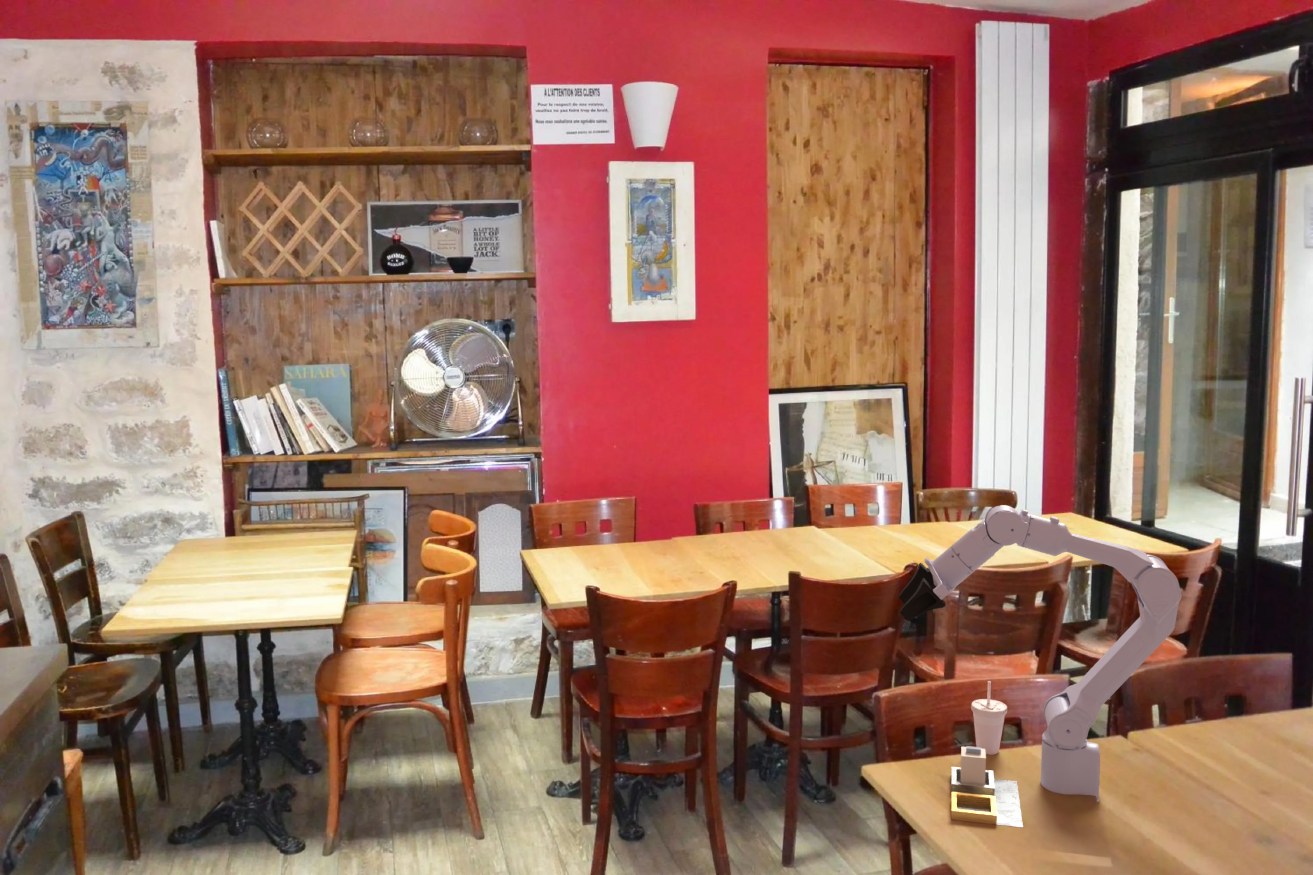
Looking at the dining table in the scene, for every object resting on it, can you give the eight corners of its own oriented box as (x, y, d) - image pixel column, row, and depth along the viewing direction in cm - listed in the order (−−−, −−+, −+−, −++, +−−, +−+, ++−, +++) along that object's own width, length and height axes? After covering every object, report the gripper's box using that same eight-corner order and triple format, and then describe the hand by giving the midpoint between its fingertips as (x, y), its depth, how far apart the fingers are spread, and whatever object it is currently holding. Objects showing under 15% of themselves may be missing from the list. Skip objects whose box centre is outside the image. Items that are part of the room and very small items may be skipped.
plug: (984, 781, 192) (985, 744, 191) (984, 791, 188) (986, 753, 187) (960, 779, 193) (961, 741, 192) (960, 789, 189) (961, 751, 188)
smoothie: (1001, 748, 208) (1004, 676, 206) (1009, 762, 202) (1011, 689, 200) (966, 747, 209) (968, 675, 207) (973, 761, 203) (975, 688, 201)
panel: (1016, 786, 192) (1017, 772, 192) (1022, 833, 176) (1023, 818, 176) (951, 779, 195) (951, 766, 195) (951, 825, 179) (951, 810, 179)
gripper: (943, 530, 197) (886, 578, 200) (949, 554, 183) (887, 605, 186) (971, 558, 197) (913, 606, 200) (979, 584, 183) (916, 635, 186)
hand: (902, 608), depth 193 cm, fingers open, 7 cm apart
